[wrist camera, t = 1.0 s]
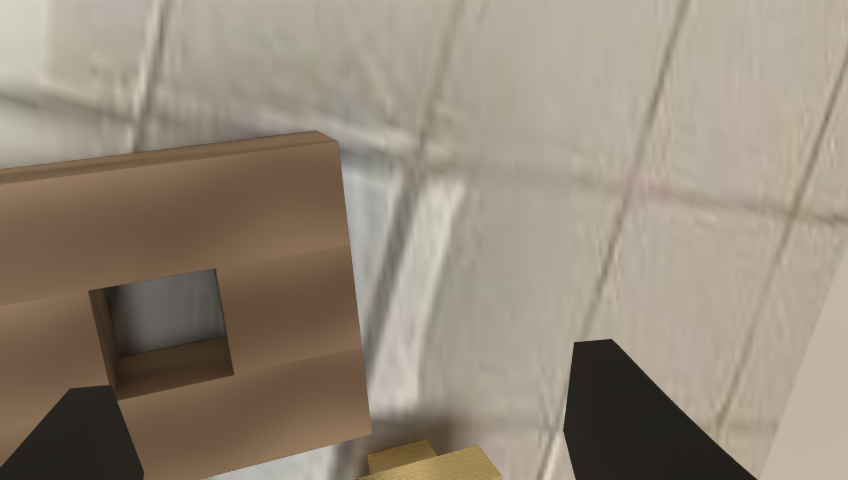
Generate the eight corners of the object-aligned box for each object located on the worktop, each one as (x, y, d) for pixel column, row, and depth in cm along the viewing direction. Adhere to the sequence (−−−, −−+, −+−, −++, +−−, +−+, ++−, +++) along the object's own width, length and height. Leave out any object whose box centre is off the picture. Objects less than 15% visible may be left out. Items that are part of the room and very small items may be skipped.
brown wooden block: (348, 391, 32) (372, 434, 29) (8, 473, 28) (-15, 535, 24) (316, 130, 29) (337, 141, 25) (-76, 178, 25) (-118, 200, 21)
